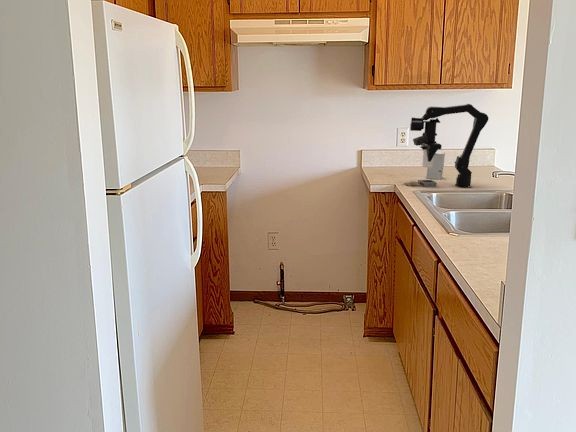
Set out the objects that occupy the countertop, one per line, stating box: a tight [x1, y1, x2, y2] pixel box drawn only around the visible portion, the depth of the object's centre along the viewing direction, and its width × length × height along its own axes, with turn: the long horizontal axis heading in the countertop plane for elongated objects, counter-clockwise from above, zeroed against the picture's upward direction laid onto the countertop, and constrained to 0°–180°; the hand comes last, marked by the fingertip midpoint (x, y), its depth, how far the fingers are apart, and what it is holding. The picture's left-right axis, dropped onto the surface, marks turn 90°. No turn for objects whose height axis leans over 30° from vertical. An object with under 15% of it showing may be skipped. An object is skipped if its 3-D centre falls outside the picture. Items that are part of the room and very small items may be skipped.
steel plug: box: [421, 149, 433, 168], centre depth 297 cm, size 4×4×9 cm
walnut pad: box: [403, 181, 423, 187], centre depth 299 cm, size 7×7×1 cm
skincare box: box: [425, 151, 446, 180], centre depth 318 cm, size 8×6×15 cm
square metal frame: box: [417, 179, 438, 187], centre depth 300 cm, size 7×8×2 cm
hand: (427, 160), depth 297 cm, fingers closed on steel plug, 4 cm apart
